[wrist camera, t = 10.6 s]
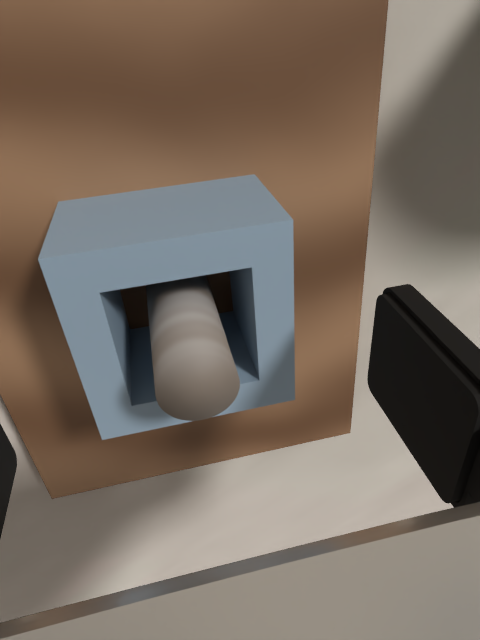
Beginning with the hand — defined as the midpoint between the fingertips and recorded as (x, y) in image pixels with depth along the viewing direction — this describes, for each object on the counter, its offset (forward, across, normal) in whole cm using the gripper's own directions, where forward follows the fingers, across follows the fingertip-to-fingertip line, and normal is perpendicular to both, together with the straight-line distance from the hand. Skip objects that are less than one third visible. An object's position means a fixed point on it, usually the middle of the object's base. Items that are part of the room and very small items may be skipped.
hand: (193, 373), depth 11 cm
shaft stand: (+7, 0, 0) cm, 7 cm away
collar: (+6, 0, 0) cm, 6 cm away
